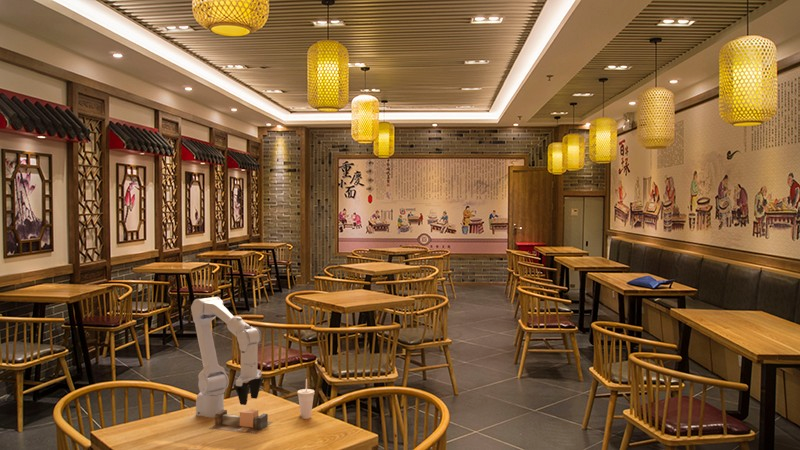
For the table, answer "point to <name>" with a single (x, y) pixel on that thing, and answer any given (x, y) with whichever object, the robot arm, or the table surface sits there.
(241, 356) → the robot arm
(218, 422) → the rail board
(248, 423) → the sleeve
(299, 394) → the smoothie
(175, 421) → the table surface
